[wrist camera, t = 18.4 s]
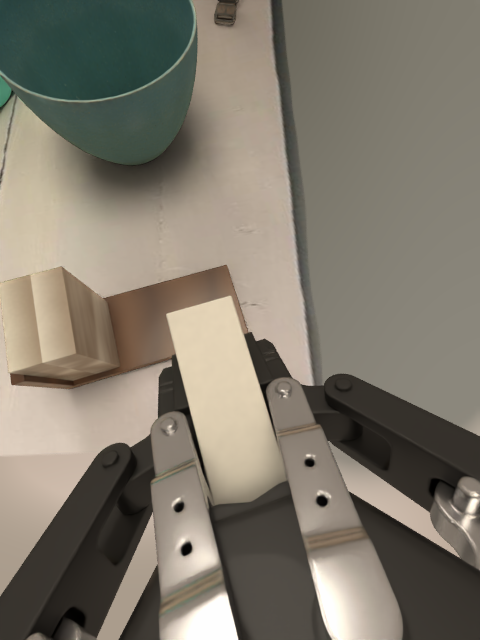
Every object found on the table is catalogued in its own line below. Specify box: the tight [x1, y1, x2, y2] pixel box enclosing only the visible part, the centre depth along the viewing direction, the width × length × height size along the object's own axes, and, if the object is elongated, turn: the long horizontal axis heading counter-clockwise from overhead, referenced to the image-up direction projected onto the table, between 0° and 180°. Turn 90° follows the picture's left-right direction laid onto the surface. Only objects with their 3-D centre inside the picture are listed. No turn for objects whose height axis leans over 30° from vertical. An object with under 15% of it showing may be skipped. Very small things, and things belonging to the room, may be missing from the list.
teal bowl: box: [0, 0, 197, 165], centre depth 32 cm, size 18×18×12 cm
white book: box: [166, 296, 286, 505], centre depth 14 cm, size 2×7×8 cm, turn 17°
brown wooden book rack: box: [0, 265, 248, 389], centre depth 27 cm, size 19×8×10 cm, turn 107°
